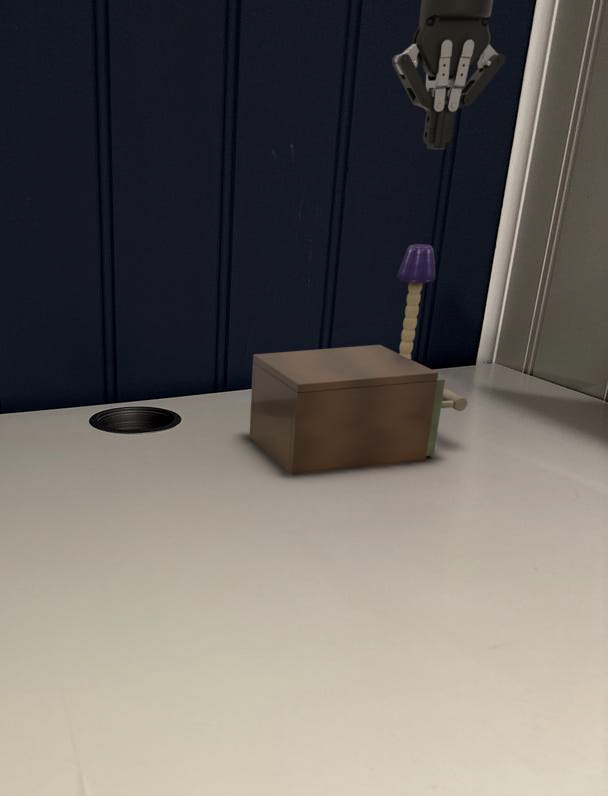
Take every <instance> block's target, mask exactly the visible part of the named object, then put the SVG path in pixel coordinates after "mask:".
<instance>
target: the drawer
mask: <svg viewBox="0 0 608 796" xmlns="http://www.w3.org/2000/svg"><path fill="white" fill-rule="evenodd" d="M445 384H446V379H445V378H443V377H441V376H439V375H438V379H437V387H436V394H435V401H434V407H433V414H432V421H431V428H430V435H429V441H428V448H427V455H426V457H430V456H435V450H436V445H437V444H436V442H437V437H438V430H439V425H440V424H439V423H440V417H441V410H442V409H453V410H455V411H457V412H462V411H464V410H465V409H466V408H467V406H468V400H467V398H465V397H464V396H461V395H459V394H458V393H455V392H453V391H452V390H449V389H447V388H445Z"/></svg>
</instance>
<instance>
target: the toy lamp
mask: <svg viewBox="0 0 608 796" xmlns="http://www.w3.org/2000/svg"><path fill="white" fill-rule="evenodd" d="M435 279H436V265H435V254H434V248H433V246H432V245H430V244H424V243H423V244H422V243H415V244H410V245H409V246H408V247H407V250H406V251H405V254H404V257H403V260H402V261H401V265H400V267H399V269H398V273H397V280H398V281H401V282H405V283H408V287H407V289H408V293H407V296H406V304H407V305H406V306H405V309H404V315H405V317H404V319H403V321H402V325H403V326H402V328H403V329H402V331H401V334H400V339H401V341H400V343H399V354H400V355H402V356H404V357H406V358H408V359H411V360H412V354H411V353H412V352H413V349H414V343H413V341H414V340H415V337H416V330H415V329H416V328H417V326H418V318H417V317H418V314H419V312H420V311H419V310H420V306H419V304H420V302H421V297H422V296H421V291H422V289H423V284H426V283H432V282H434V281H435Z"/></svg>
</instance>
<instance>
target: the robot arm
mask: <svg viewBox="0 0 608 796" xmlns="http://www.w3.org/2000/svg"><path fill="white" fill-rule="evenodd" d="M493 3H494V0H421V3H420V10H419V12H420V13H419V23H418V28H417V30H416V32H415V33H414V35H413V37H412V44H411V45H410V46H409V47H407V48H406V49H405V50H404V51H403V52H401V53H399V54H395V55H394V56H393V57H392V59H391V64H392V67H393V69H394V71H395V72H396V74H397V76H398V79H399V80H400V82H401V84H402V87H403V88H404V90H405V92H406V93H407V96H408V98H409V99H410V101H411V103H412V104H413V106H417V107H419V108H422V109H424V111H425V120H424V121H425V122H424V130H423V136H422V139H423V144H426V149H428V150H445V149H446V146H447V144H449V143H450V142H451V139H452V136H453V128H454V122H455V116H456V112H457V111H458V110H460V109H461V108H463V107H465V106H471V105H472V104H473V103H474V102H475V100H477V98H478V97H479V95H480V94H481V93H482V92H483V91H484V89H485V88H486V87H487V86H488V85H489V84H490V82H491V81H492V79H493V78H494V77H495V76H496V75H497V73H498V72H499V71H500V70H501V68H502V67H503V65H504V64H505V63H506V56H505V55H504V54H503V53H498V52H497V51H496V50H495V49H494V47H493V46H492V45H491V44H490V42H491V33H490V30H489V22H490V18H491V15H492V9H493ZM419 62H420V64H421V66H422V68H423V72H425V83H424V81H423V79H422V77H421V76H420V74H419V72H418V69H417V68H418V66H419ZM476 63H477V65H476V66H477V69H476V70H475V71H474V73H473V74H472V75H471V77H470V78H469V79H468V80H467V78H468V73H469V72H470V71H471V70H472V68H473V67H474V65H475V64H476Z"/></svg>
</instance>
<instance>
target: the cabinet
mask: <svg viewBox="0 0 608 796" xmlns="http://www.w3.org/2000/svg"><path fill="white" fill-rule="evenodd" d="M438 376H439V372H437V371H436V370H434V369H431V368H429V367H427V366H425V365H423V364H421V363H418V362H417V361H416V360H415V361H414V360H413V359H412V358H411V359H408V358H406V357H404V356H402V355H400V353H398V352H396V351H394V350H392V349H390V348H388V347H386V346H384V345H381V344H371V345H359V346H346V347H334V348H321V349H307V350H296V351H295V350H294V351H283V352H282V351H281V352H280V351H279V352H267V353H255V354H253V357H252V373H251V395H250V398H251V399H250V418H249V419H250V420H249V439H251V440H252V441H253V443H255V444H256V445H258V446H259V448H261V449H262V450H263V451H264V452H265V453H266V454H267V455H269V456H270V457H271V458H272V459H273V460H274V461H275V462H276V463H277V464H278V465H279V466H281V467H282V468H283V469H284V470H285V471H286V472H287V473H289V474H290V475H291V476H298V475H306V474H307V475H308V474H316V473H325V472H335V471H344V470H345V471H346V470H355V469H363V468H372V467H373V468H374V467H383V466H394V465H401V464H402V465H403V464H413V463H420V462H422V463H423V462H426V460H427V456H426V455H427V448H428V441H429V435H430V428H431V421H432V414H433V407H434V401H435V394H436V387H437V379H438Z"/></svg>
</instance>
